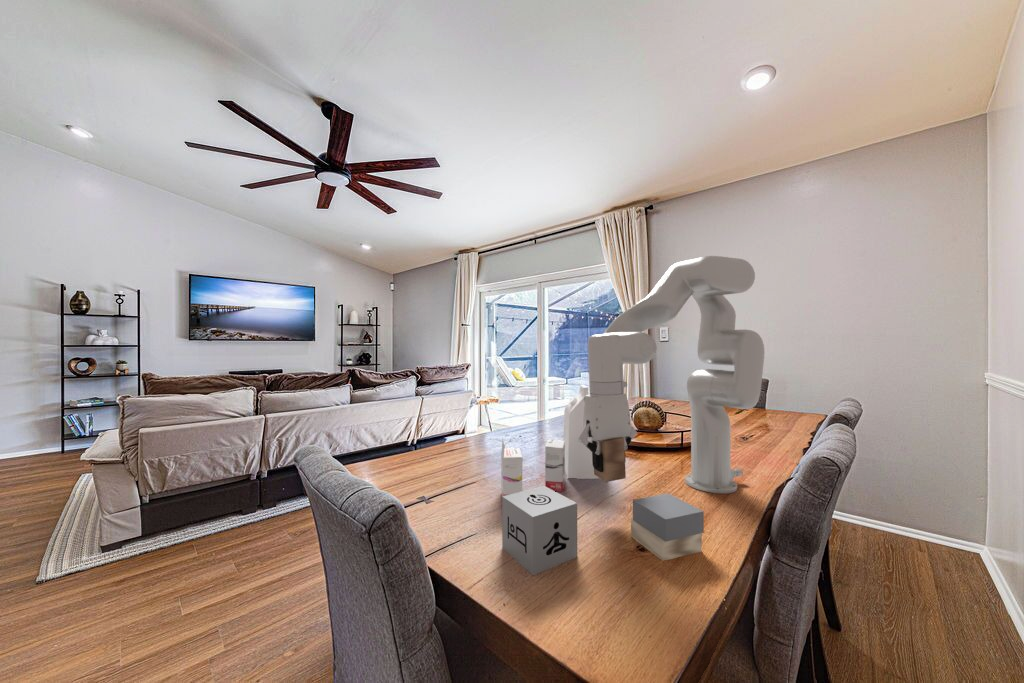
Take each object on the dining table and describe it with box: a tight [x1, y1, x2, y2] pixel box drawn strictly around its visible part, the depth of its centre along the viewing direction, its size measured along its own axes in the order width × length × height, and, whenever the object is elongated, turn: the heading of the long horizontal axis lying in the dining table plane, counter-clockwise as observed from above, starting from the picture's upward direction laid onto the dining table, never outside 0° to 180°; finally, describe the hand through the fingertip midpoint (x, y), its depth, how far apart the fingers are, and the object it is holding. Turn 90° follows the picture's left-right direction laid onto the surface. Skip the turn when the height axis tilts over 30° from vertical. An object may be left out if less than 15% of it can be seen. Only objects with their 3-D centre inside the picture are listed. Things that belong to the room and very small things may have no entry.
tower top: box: [632, 492, 705, 542], centre depth 73 cm, size 9×9×4 cm
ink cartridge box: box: [500, 437, 524, 497], centre depth 94 cm, size 9×5×15 cm, turn 5°
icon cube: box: [501, 485, 578, 576], centre depth 70 cm, size 10×10×10 cm
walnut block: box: [594, 438, 627, 483], centre depth 85 cm, size 5×5×9 cm
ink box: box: [544, 438, 566, 493], centre depth 103 cm, size 9×5×12 cm, turn 168°
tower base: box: [630, 518, 703, 562], centre depth 73 cm, size 9×9×4 cm
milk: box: [563, 384, 602, 480], centre depth 114 cm, size 12×12×26 cm
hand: (609, 467), depth 85 cm, fingers closed on walnut block, 5 cm apart
